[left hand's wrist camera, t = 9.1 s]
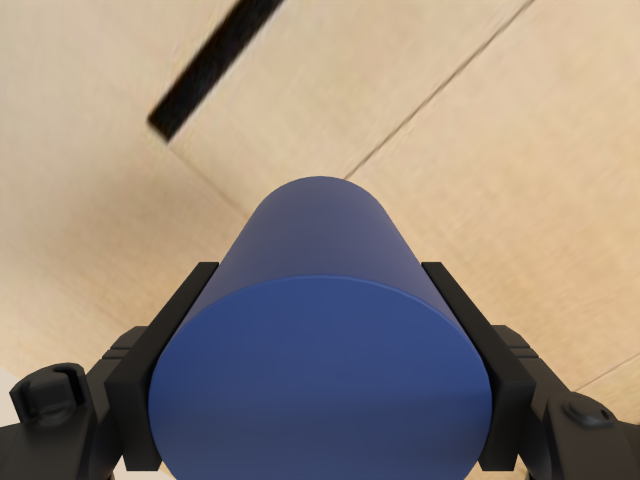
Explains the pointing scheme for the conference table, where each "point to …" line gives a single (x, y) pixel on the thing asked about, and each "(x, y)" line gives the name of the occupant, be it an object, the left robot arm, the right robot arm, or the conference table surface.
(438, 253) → the conference table surface
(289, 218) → the canister
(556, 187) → the conference table surface
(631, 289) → the conference table surface
